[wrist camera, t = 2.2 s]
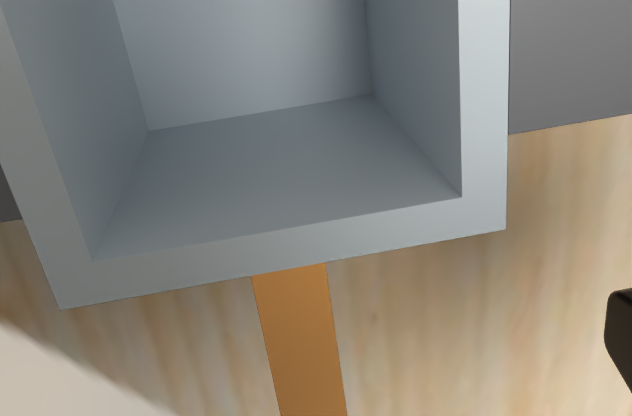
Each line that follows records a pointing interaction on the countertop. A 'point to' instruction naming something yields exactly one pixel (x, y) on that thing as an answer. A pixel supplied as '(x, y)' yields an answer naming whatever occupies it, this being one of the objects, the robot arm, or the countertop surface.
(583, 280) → the countertop surface
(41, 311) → the countertop surface
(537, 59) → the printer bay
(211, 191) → the toner caddy
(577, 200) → the countertop surface
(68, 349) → the countertop surface
